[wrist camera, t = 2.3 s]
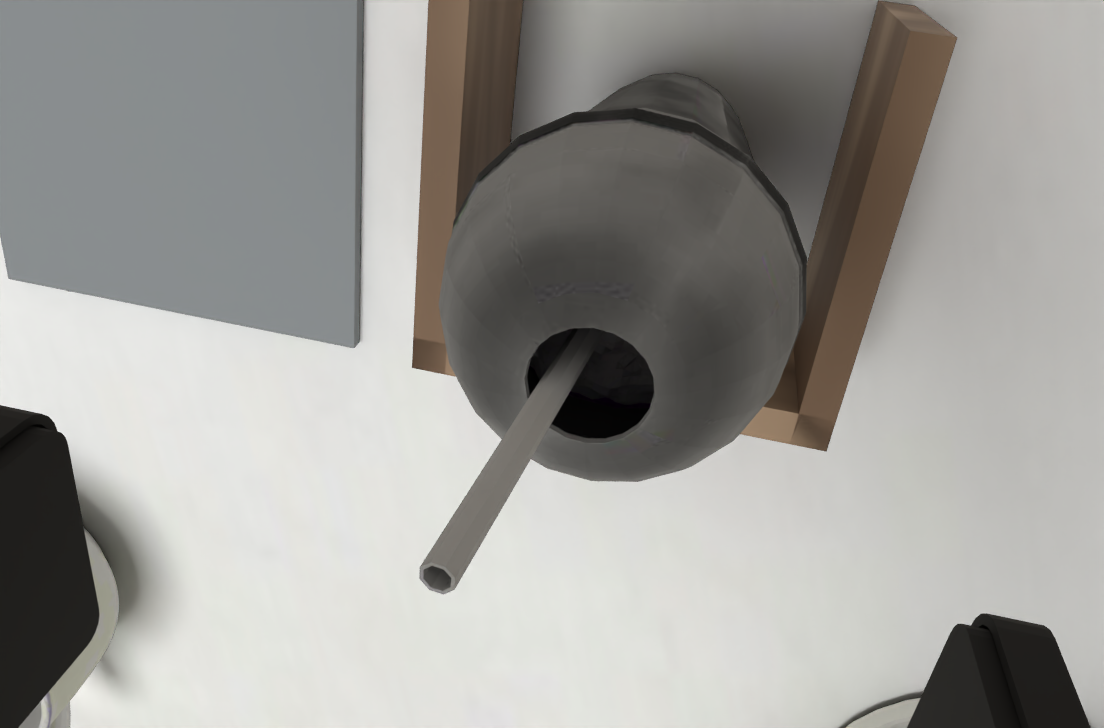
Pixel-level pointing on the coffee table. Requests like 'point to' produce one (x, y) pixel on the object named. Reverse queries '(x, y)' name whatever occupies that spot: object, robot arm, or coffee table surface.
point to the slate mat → (187, 156)
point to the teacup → (53, 712)
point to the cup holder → (844, 225)
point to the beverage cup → (616, 297)
